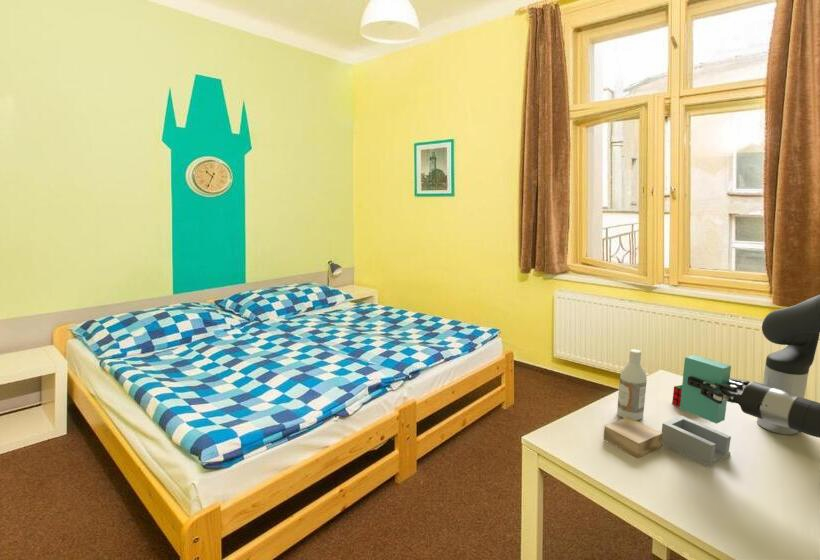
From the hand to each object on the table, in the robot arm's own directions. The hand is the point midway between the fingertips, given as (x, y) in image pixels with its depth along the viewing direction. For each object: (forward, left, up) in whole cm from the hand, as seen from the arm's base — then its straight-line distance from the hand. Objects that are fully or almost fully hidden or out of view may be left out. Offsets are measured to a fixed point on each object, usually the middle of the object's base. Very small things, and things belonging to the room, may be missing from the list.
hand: (693, 378), depth 119 cm
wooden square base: (+11, -8, -19) cm, 23 cm away
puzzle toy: (-22, -13, -19) cm, 32 cm away
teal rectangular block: (0, +3, -8) cm, 9 cm away
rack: (0, +2, -19) cm, 19 cm away
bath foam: (-2, -18, -19) cm, 26 cm away
